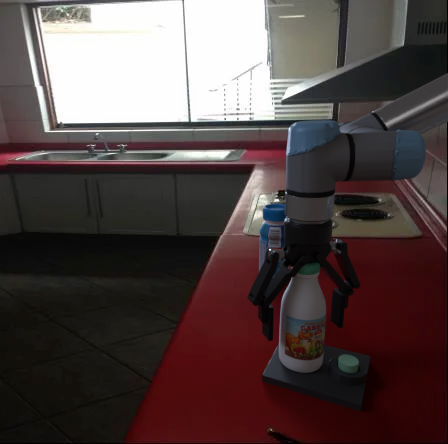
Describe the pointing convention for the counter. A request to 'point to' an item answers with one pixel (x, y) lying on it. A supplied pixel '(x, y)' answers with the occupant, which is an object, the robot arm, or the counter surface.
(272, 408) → the counter surface
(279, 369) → the scale
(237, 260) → the counter surface
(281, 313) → the milk bottle
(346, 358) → the button
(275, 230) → the beverage bottle
